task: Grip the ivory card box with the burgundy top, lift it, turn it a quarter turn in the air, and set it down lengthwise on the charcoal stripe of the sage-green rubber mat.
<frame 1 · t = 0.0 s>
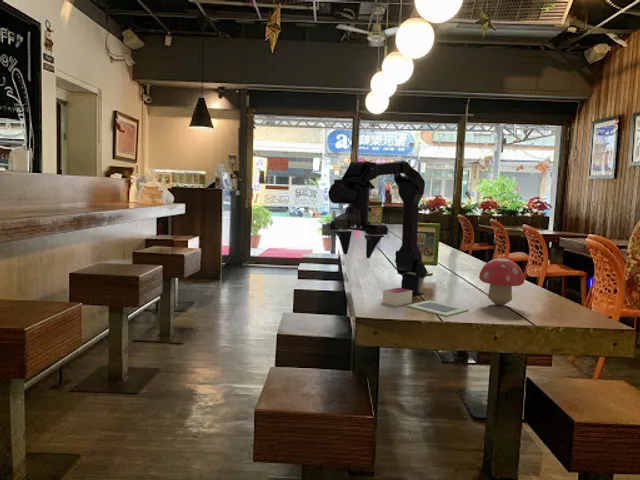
hand: (356, 256, 149), 15 cm above the table, fingers open, 9 cm apart
decorative mushroom: (499, 306, 157), on the table
mat: (437, 308, 149), on the table
card box: (397, 303, 155), on the table
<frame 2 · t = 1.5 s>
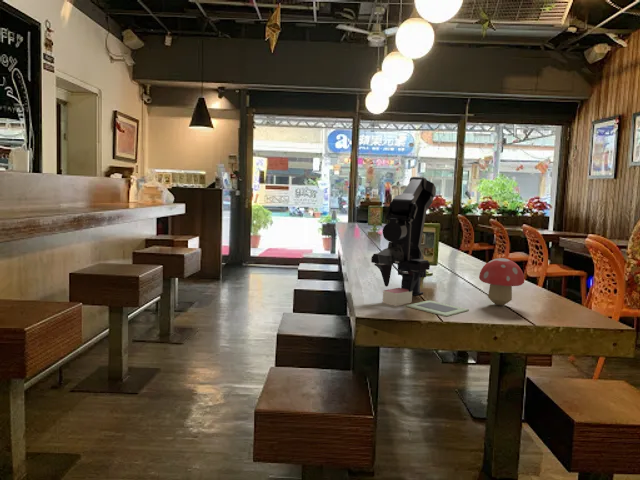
hand: (398, 288, 155), 4 cm above the table, fingers open, 9 cm apart
nothing on the table moved.
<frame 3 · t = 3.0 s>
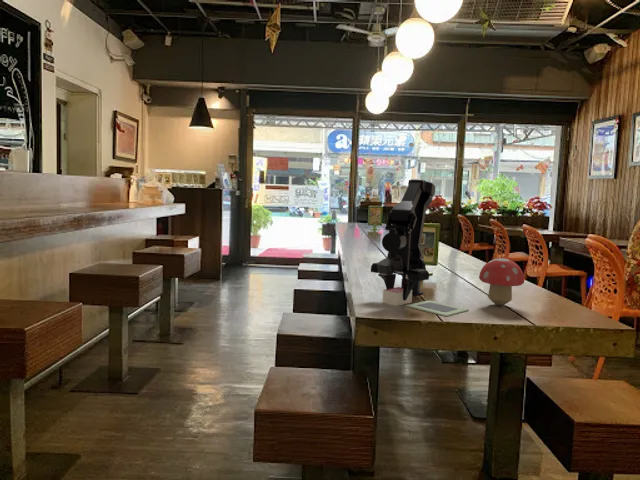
hand: (397, 298, 155), 1 cm above the table, fingers closed on card box, 5 cm apart
card box: (397, 302, 155), on the table, touching gripper
everything else where it was.
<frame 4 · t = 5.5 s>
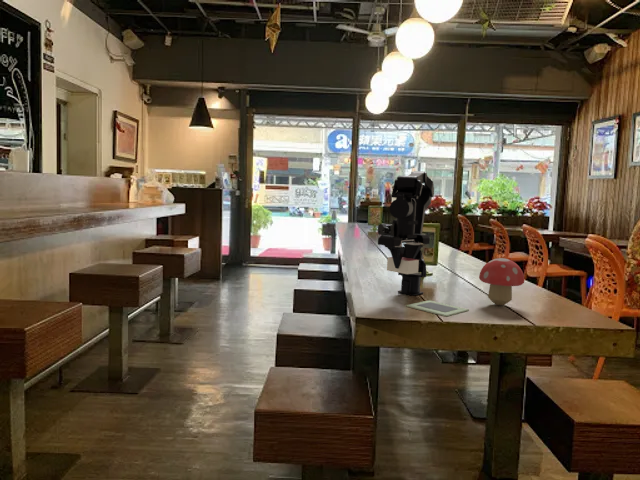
hand: (402, 267, 154), 11 cm above the table, fingers closed on card box, 5 cm apart
card box: (402, 271, 154), point 10 cm above the table, touching gripper
everything else where it was.
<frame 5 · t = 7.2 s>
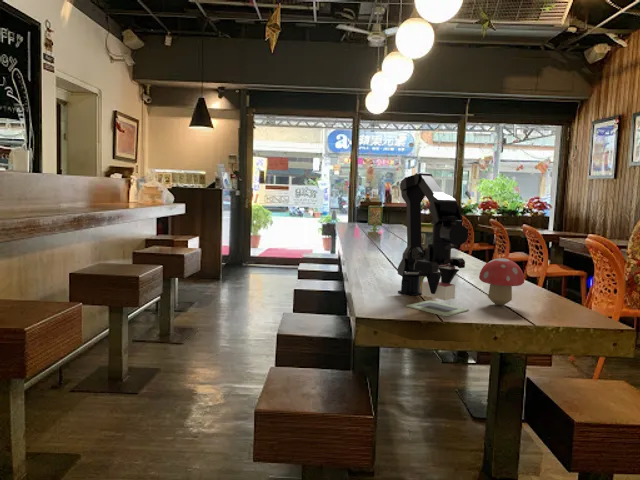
hand: (438, 292, 149), 5 cm above the table, fingers closed on card box, 5 cm apart
card box: (437, 296, 149), point 4 cm above the table, touching gripper
everything else where it was.
when the fingers open (3 cm above the table, at t = 8.4 s): card box drops 1 cm, resting on mat.
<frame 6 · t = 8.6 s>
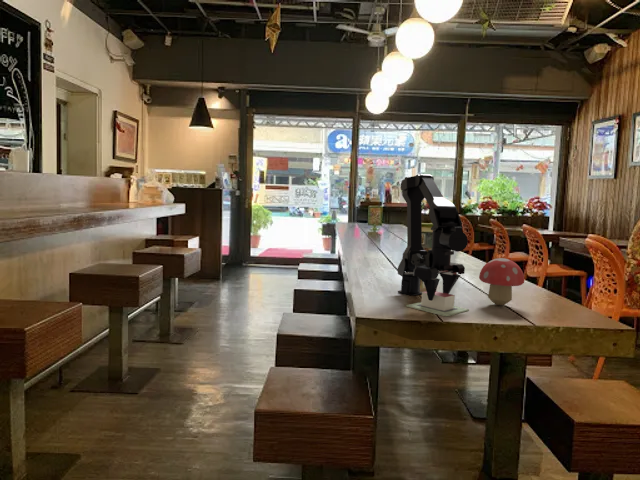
hand: (437, 298, 149), 3 cm above the table, fingers open, 7 cm apart
card box: (437, 306, 149), resting on mat
everything else where it was.
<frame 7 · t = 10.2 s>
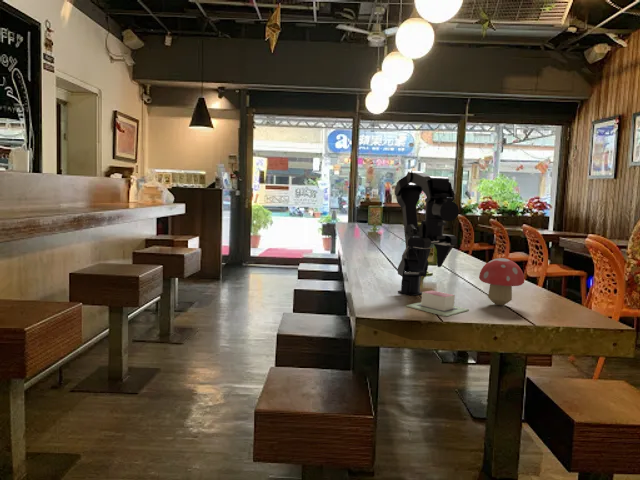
hand: (430, 268, 154), 11 cm above the table, fingers open, 9 cm apart
nothing on the table moved.
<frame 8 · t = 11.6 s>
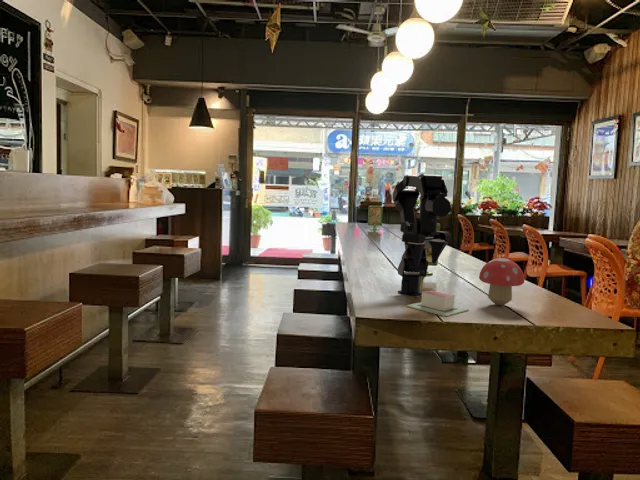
hand: (425, 264, 157), 12 cm above the table, fingers open, 9 cm apart
nothing on the table moved.
at the end: card box inside the target area on the mat (0.0 cm from its centre), point 0.5 cm above the mat's base; card box touching mat; the gripper is holding nothing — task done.
